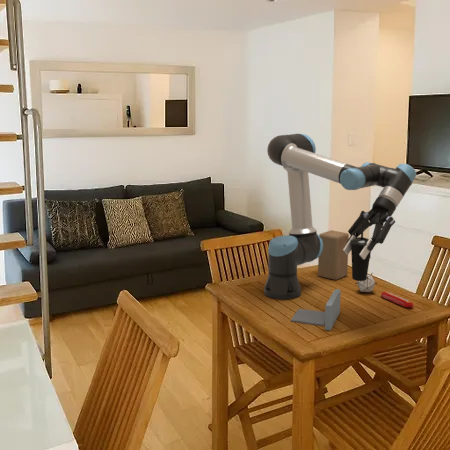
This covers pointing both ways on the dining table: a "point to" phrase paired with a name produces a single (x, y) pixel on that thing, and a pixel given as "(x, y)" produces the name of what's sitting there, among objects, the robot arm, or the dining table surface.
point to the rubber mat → (309, 317)
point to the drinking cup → (359, 258)
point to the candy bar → (397, 299)
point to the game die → (366, 284)
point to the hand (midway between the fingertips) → (353, 254)
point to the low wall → (332, 309)
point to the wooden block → (333, 255)
